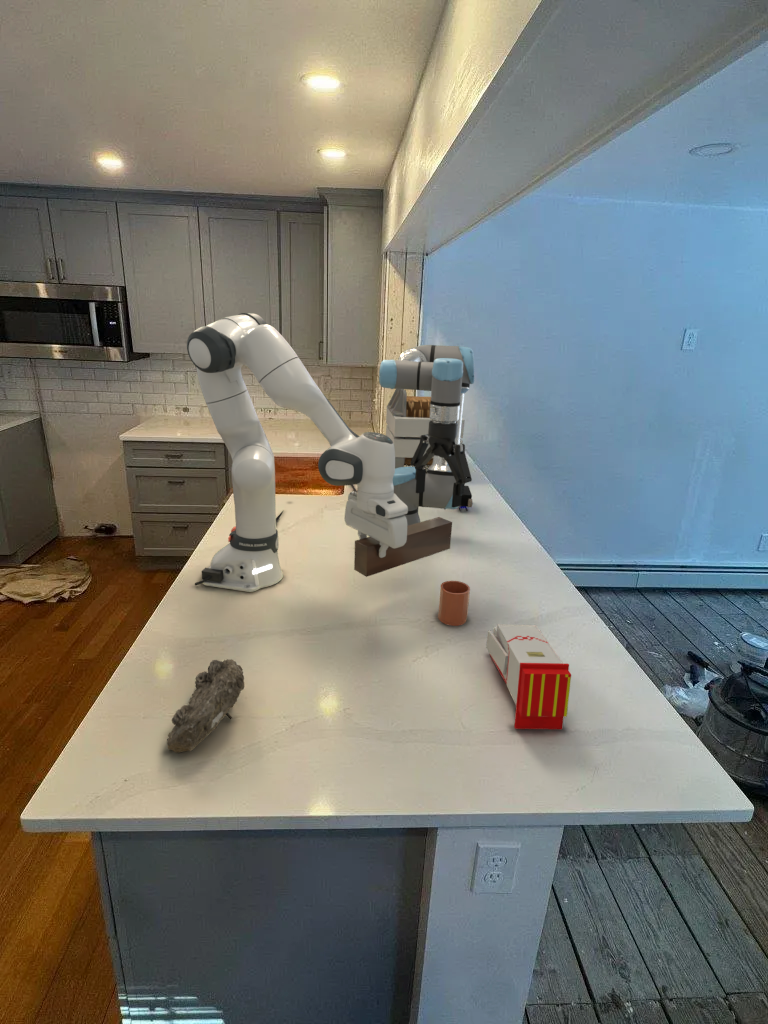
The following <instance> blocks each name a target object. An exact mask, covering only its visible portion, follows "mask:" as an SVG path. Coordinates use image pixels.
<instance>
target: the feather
mask: <svg viewBox="0 0 768 1024" xmlns="http://www.w3.org/2000/svg"><path fill="white" fill-rule="evenodd" d="M283 512H284V509H282V511H281V512H280V513H279V514H278V516H276V524H277V523H278V522H279V520H280V518H281V516H282V514H283Z"/></svg>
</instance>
